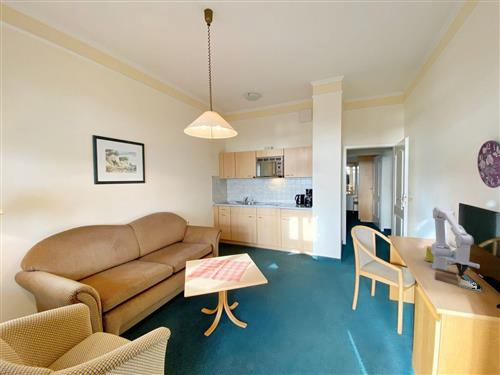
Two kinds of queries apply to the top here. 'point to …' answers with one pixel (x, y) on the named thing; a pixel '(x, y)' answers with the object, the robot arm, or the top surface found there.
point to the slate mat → (470, 288)
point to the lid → (465, 283)
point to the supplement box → (429, 255)
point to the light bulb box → (452, 254)
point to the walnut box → (446, 276)
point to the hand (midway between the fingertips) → (460, 275)
